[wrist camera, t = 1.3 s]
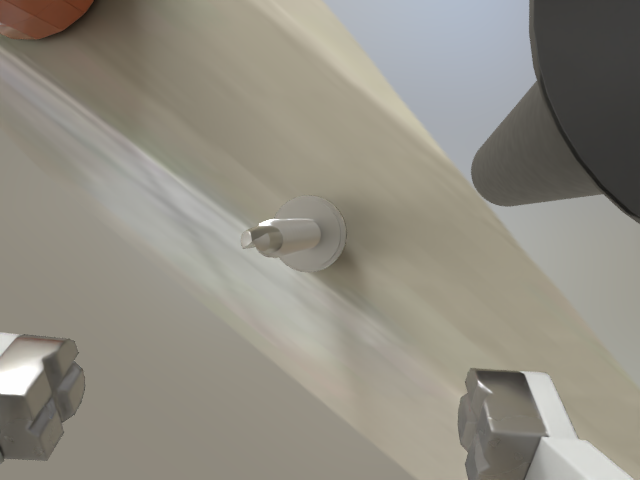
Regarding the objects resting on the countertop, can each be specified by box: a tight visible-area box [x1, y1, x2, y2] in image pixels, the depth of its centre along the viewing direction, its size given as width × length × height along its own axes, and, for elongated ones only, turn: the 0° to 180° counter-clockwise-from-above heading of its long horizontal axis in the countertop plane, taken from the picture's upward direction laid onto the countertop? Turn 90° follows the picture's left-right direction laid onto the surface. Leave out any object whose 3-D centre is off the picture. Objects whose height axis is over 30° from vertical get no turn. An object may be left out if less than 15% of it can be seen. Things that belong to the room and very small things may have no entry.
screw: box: [241, 195, 347, 272], centre depth 28 cm, size 13×5×5 cm
